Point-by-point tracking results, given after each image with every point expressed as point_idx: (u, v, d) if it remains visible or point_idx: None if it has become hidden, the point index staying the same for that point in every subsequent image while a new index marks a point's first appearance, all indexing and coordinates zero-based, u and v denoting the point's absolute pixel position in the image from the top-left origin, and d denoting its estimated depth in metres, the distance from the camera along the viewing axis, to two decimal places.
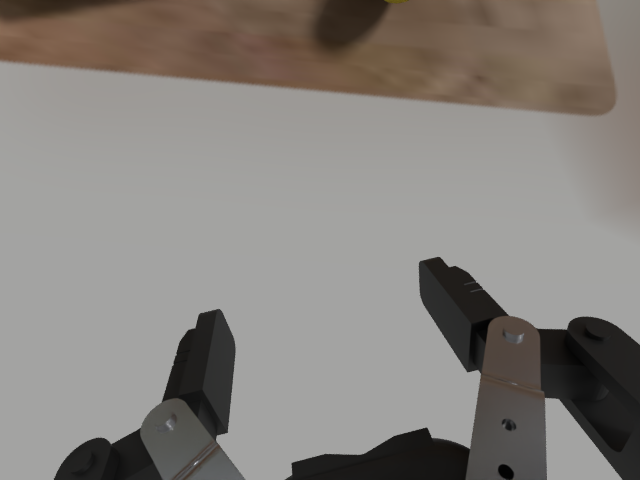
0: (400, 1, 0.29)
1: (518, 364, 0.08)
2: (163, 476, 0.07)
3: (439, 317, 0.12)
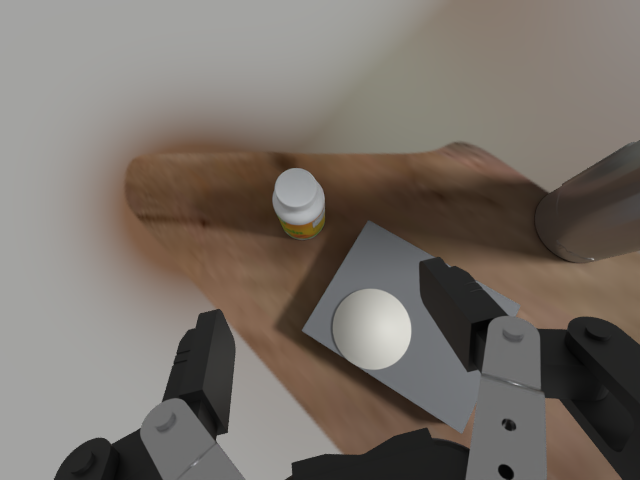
0: None
1: (518, 364, 0.08)
2: (163, 476, 0.07)
3: (439, 317, 0.12)
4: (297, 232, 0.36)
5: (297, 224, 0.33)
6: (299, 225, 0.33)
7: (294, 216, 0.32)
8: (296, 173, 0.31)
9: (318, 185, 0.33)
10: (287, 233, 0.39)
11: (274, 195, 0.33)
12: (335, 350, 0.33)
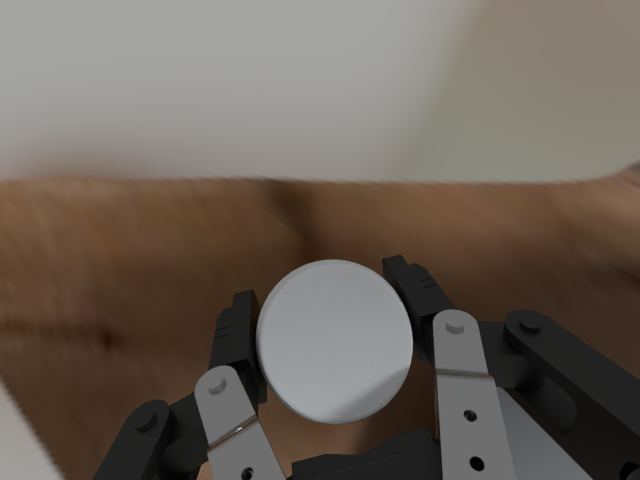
0: None
1: (465, 354, 0.08)
2: (208, 435, 0.08)
3: None
4: None
5: None
6: None
7: None
8: (336, 282, 0.09)
9: None
10: None
11: None
12: None
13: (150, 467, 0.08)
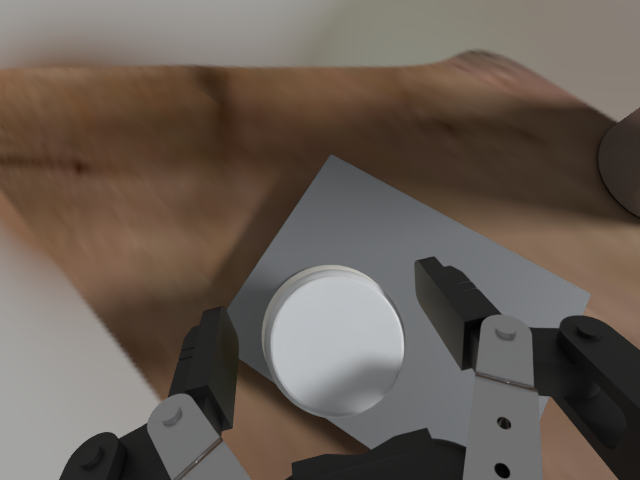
0: None
1: (511, 362, 0.08)
2: (169, 470, 0.07)
3: (434, 316, 0.12)
4: None
5: None
6: None
7: None
8: (336, 292, 0.10)
9: None
10: None
11: (269, 334, 0.12)
12: (265, 372, 0.19)
13: None
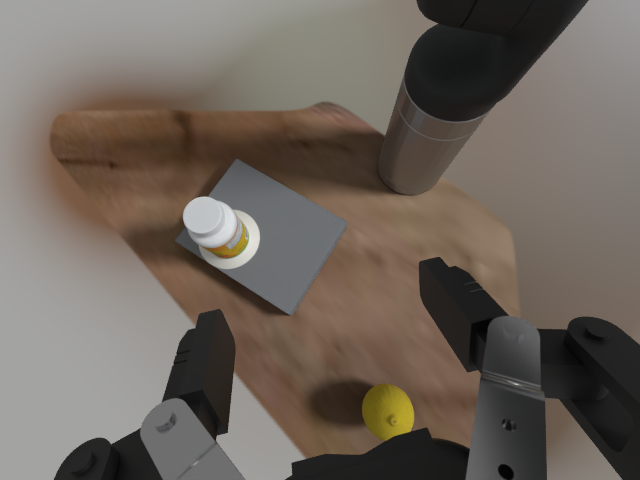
0: None
1: (518, 364, 0.08)
2: (163, 476, 0.07)
3: (439, 317, 0.12)
4: (216, 253, 0.38)
5: (209, 247, 0.35)
6: (212, 248, 0.36)
7: (204, 240, 0.35)
8: (203, 201, 0.33)
9: (229, 211, 0.36)
10: None
11: None
12: (199, 255, 0.42)
13: None
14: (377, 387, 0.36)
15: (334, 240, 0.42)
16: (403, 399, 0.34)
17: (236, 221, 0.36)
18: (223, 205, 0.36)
